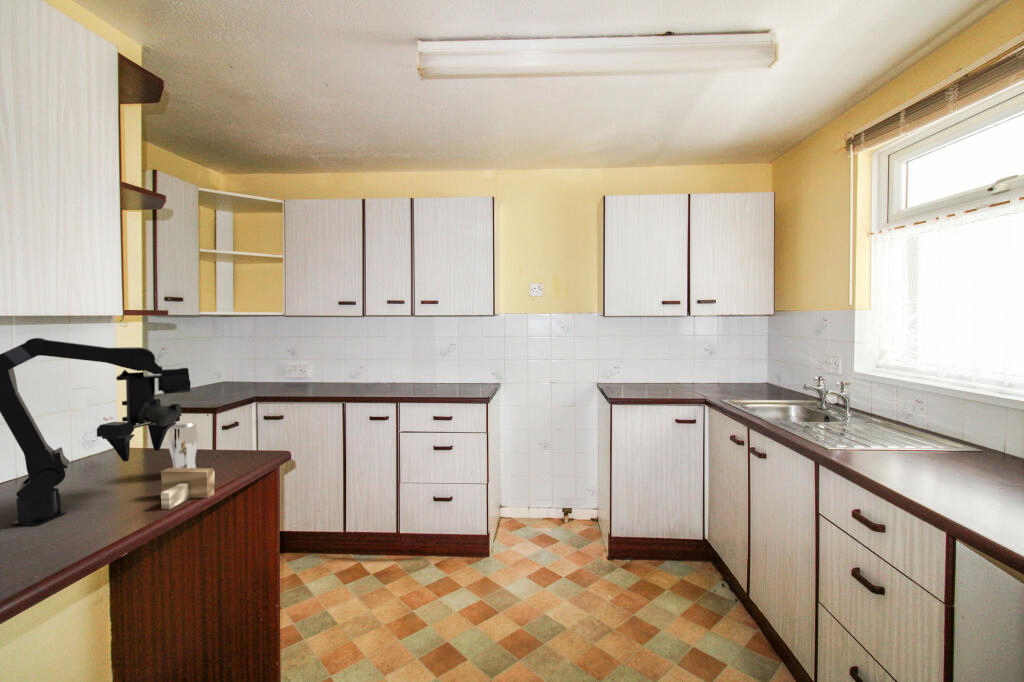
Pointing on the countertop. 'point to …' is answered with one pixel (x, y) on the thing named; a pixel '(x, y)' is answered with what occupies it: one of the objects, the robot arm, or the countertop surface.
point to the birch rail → (175, 495)
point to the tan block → (190, 480)
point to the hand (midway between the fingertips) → (142, 455)
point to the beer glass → (183, 445)
